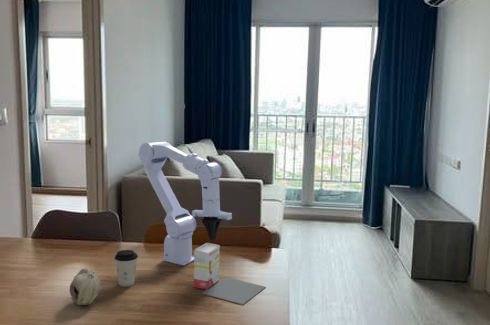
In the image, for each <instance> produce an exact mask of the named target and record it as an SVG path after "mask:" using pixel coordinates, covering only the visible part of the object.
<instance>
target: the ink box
mask: <svg viewBox="0 0 490 325" xmlns="http://www.w3.org/2000/svg"><path fill="white" fill-rule="evenodd" d="M220 248H221V245H219V244H215V243H211V242H205V243H204V244H202V245H200V246H198V247H196V248H194V251H193V252H194V254H193V257H194V261H193V287H194V288H197V289H201V290H205V291H206V290H207V289H209V288H211V287H212V286H214V285H215V284H217V283H218V282H219V281H220Z"/></svg>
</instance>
